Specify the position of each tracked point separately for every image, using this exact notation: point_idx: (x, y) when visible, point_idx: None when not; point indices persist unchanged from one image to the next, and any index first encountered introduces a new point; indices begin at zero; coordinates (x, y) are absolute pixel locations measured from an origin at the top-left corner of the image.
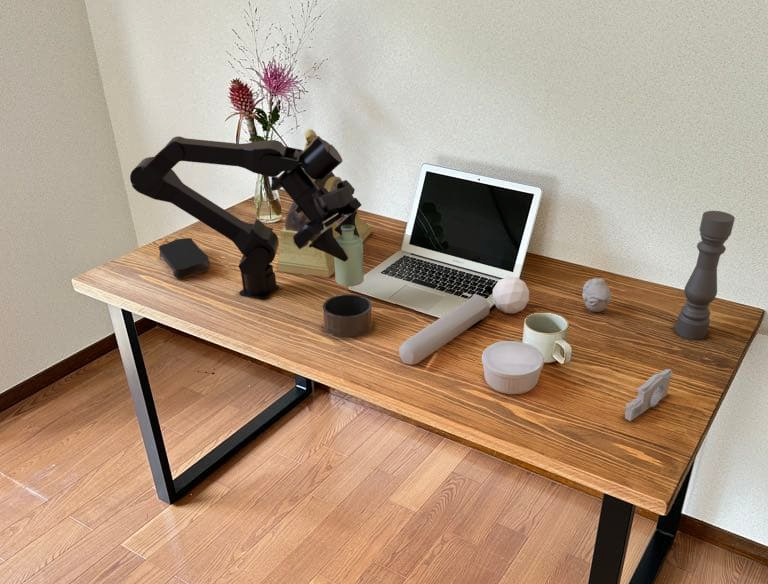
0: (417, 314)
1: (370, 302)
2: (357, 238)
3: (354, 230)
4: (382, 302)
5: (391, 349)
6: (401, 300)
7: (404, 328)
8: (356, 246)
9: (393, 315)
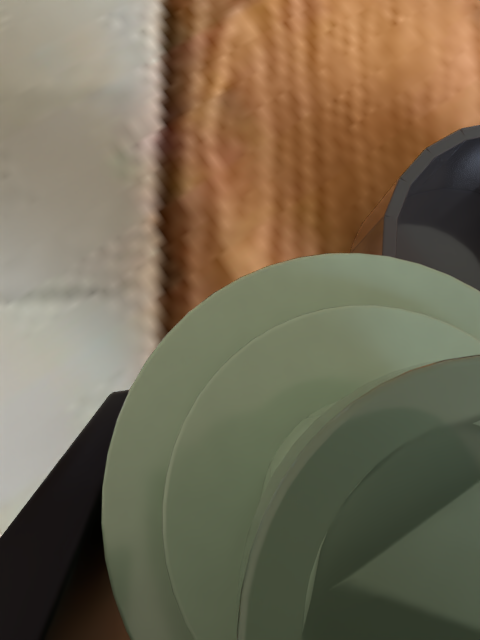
0: (186, 106)
1: (414, 165)
2: (276, 353)
3: (21, 634)
4: (178, 291)
5: (475, 47)
6: (113, 230)
7: (316, 89)
8: (416, 267)
9: (252, 183)
